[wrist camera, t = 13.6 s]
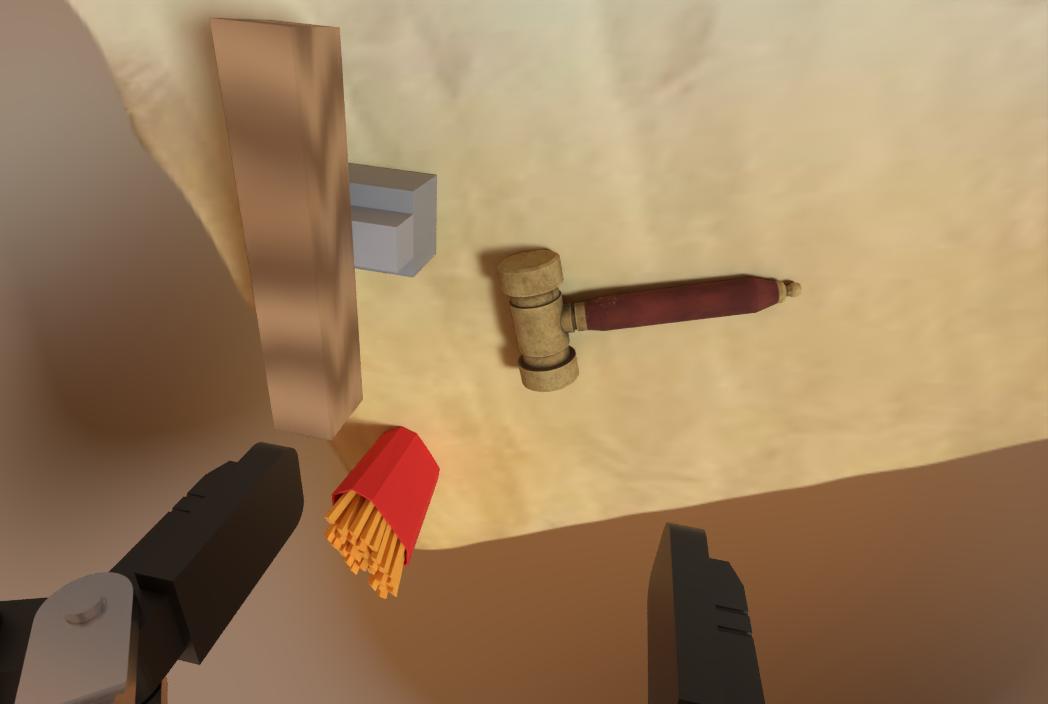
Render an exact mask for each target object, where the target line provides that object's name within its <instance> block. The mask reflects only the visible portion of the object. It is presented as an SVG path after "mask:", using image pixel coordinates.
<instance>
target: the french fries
mask: <svg viewBox="0 0 1048 704" xmlns="http://www.w3.org/2000/svg"><path fill="white" fill-rule="evenodd" d="M439 470H440V468H439V467H438V465H437V463H436V462H435V460H434V458H433V457H432V455H431V454H430V452H429V450H428V449H427V447H426V446H425V444H424V443H423V442H422V440H421V439H420V437H419V436H418V435H417V434H416V433H414V432H412V431H410V430H408V429H406V428H404V427H399V428H396V429H393V430H390V431H387V432H384V433H383V435H382V436H381V437H380V438H379V439H378V440H377V442H376V443H375V444H374V445H373V446H372V448H371V449H370V450H369V451H368V452H367V453H366V455H365V456H364V457H363V458H362V459H361V461H360V462H359V463H358V464H357V465H356V467H355V468H354V469H353V470H352V471H351V472H350V474H349V475H348V476H347V477H346V478H345V480H344V481H343V482H342V483H341V484H340V485H339V487H338V488H337V489H336V490H335V491H334V493H333V494H332V502H333V507H332V508H331V510H330V511H329V512H328V513H327V514H326V515H325V518H326V520H327V521H328V522H329V523H330V525H329V527H328V529H327V531H326V532H325V534H324V536H325V537H326V538H327V539H328V540H329V541H330V544H331V545H332V546H333V547H334V548H335V549H337V550H339V552H340V554H341V555H343V556H344V557H343V560H344V561H345V562H346V564H347V565H348V568H349V569H350V570H351V571H352V572H354V573H355V574H357V572H358V570H359V568H361V569H362V570H363V571H366V569H368V571H369V573H371V574H370V577H369V580H368V583H369V585H370V586H371V587H372V588H373V589H374V590H375V591H376V589H377V588H378V590H377V595H378V596H380V597H382V598H385V599H386V598H387V593H388V591H389V592H390V593H391V594H392V595H394V596H397V591H398V587H399V582H400V578H401V573H402V568H403V566H406V565H408V564H409V561H410V559H411V555H412V553H413V550H414V547H415V544H416V541H417V538H418V535H419V533H420V530H421V527H422V524H423V521H424V518H425V515H426V512H427V509H428V506H429V504H430V501H431V498H432V495H433V492H434V489H435V486H436V483H437V480H438V475H439Z"/></svg>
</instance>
